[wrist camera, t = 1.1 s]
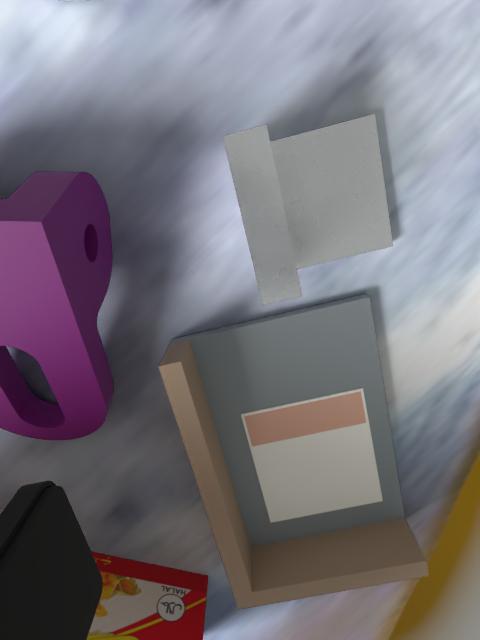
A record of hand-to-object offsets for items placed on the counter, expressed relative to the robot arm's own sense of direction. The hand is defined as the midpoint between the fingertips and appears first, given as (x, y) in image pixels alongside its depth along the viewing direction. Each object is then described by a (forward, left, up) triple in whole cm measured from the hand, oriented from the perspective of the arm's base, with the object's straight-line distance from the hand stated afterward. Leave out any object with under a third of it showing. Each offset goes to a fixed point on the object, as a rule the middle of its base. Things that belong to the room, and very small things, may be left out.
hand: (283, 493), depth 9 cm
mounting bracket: (-2, -14, -21) cm, 25 cm away
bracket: (-5, +5, -20) cm, 21 cm away
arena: (+12, 0, -20) cm, 24 cm away
